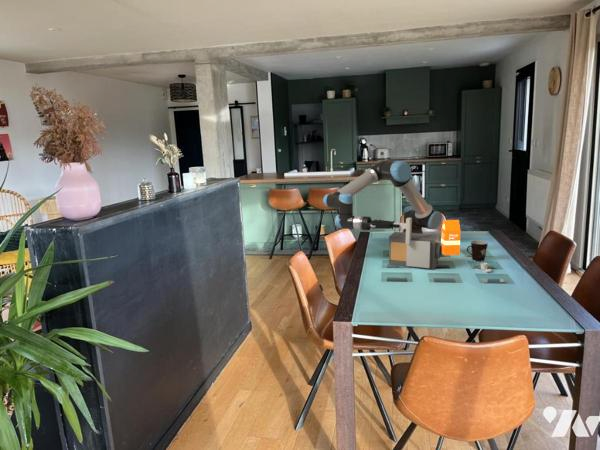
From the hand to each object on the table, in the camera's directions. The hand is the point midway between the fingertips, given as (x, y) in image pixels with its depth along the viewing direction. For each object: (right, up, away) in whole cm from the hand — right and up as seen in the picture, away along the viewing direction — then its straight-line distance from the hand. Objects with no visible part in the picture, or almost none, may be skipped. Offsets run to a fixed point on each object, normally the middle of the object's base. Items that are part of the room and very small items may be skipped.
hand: (406, 226), depth 236 cm
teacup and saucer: (+38, -24, -4) cm, 45 cm away
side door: (+6, -22, +2) cm, 23 cm away
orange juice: (+33, -16, +30) cm, 48 cm away
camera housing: (+8, -21, +11) cm, 25 cm away
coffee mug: (+42, -19, +16) cm, 49 cm away
